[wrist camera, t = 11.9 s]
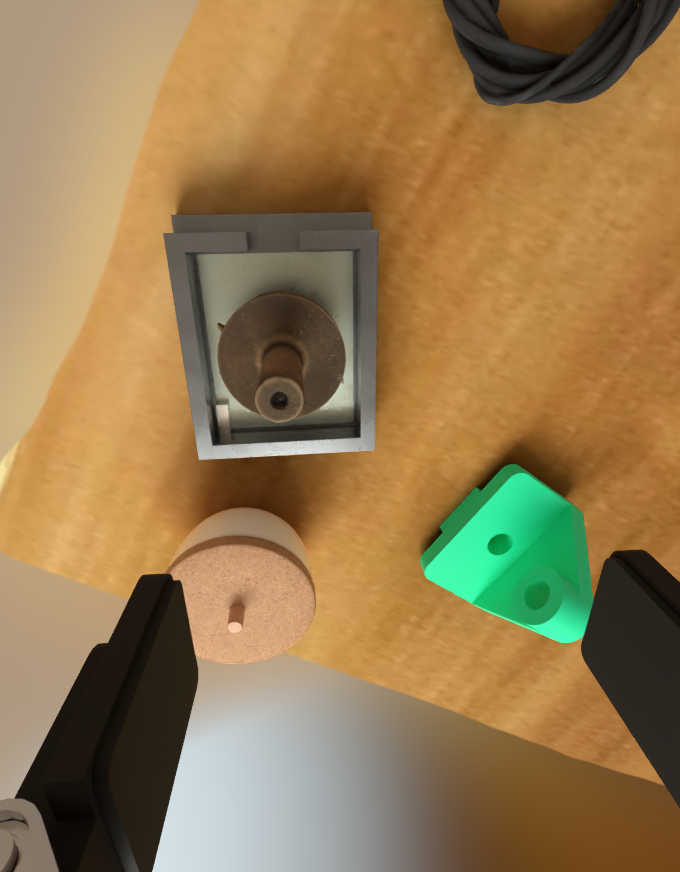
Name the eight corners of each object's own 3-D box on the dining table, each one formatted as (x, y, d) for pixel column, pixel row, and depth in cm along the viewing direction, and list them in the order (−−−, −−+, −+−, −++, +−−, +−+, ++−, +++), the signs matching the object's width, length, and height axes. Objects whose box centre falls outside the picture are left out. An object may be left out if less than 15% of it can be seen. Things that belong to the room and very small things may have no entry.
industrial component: (202, 342, 30) (151, 403, 19) (272, 255, 29) (260, 268, 18) (310, 427, 33) (318, 521, 22) (379, 353, 32) (424, 417, 21)
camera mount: (504, 453, 38) (574, 526, 28) (565, 497, 40) (649, 578, 30) (412, 554, 41) (447, 650, 31) (473, 589, 43) (523, 688, 34)
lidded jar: (334, 514, 38) (346, 595, 30) (277, 605, 42) (273, 701, 33) (213, 463, 35) (187, 536, 27) (162, 565, 39) (124, 659, 30)
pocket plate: (368, 212, 29) (378, 209, 26) (367, 441, 36) (374, 462, 32) (176, 215, 28) (160, 213, 25) (210, 449, 35) (201, 473, 31)
